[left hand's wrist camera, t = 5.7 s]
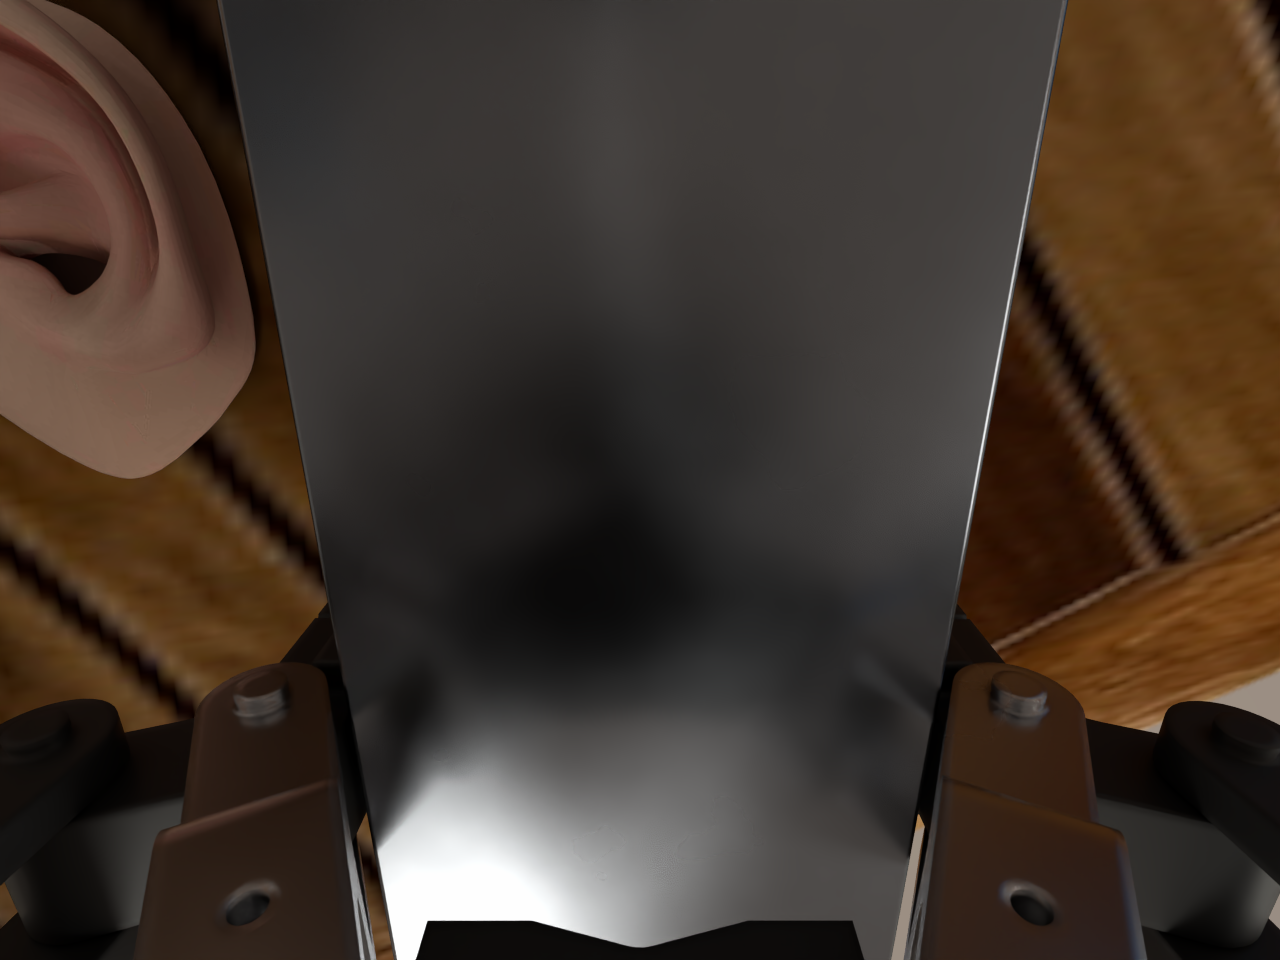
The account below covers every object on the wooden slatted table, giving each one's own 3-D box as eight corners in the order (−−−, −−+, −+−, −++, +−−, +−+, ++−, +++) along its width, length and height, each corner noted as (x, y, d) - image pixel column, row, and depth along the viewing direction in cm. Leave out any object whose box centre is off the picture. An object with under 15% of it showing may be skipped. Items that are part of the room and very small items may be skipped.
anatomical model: (137, 567, 21) (-296, 406, 19) (214, 512, 24) (-141, 373, 22) (245, 107, 16) (-306, -159, 14) (319, 126, 20) (-112, -84, 18)
